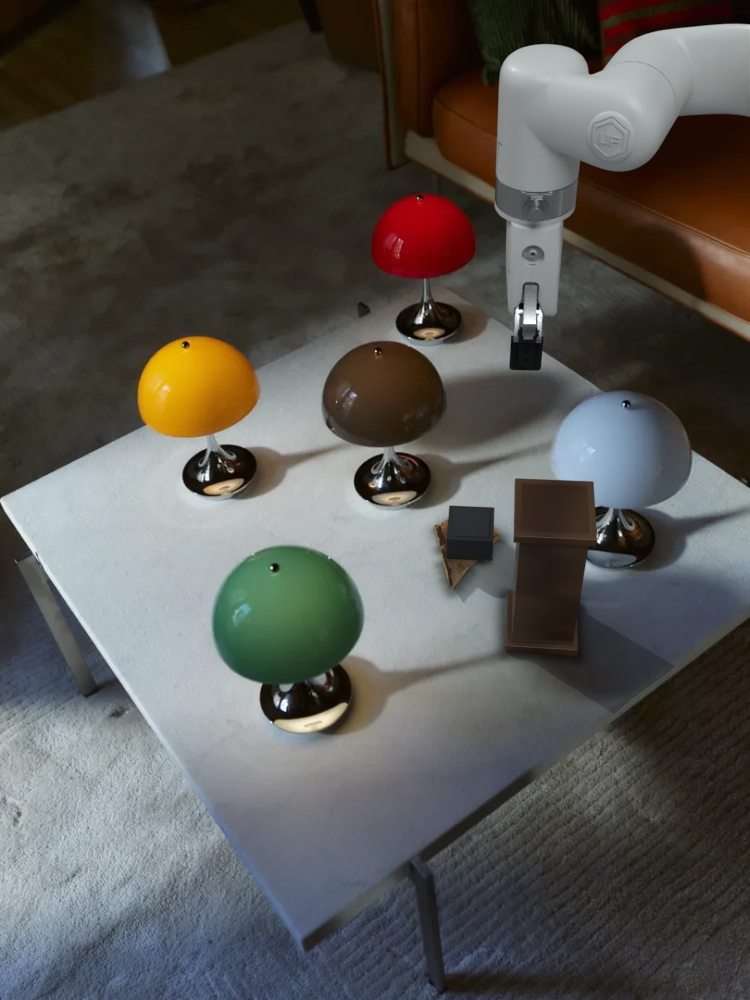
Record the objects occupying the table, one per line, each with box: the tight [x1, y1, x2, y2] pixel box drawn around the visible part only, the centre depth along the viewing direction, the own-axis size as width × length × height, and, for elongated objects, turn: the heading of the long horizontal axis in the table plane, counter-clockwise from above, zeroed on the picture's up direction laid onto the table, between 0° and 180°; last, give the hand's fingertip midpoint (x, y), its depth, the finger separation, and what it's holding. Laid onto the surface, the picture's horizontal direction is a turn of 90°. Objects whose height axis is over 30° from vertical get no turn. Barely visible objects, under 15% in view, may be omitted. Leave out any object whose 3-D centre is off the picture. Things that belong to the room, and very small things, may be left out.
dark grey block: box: [447, 505, 495, 561], centre depth 115 cm, size 6×6×4 cm
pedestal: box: [505, 477, 598, 657], centre depth 102 cm, size 8×8×20 cm
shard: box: [433, 518, 502, 590], centre depth 117 cm, size 11×8×2 cm
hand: (525, 339), depth 100 cm, fingers open, 9 cm apart
